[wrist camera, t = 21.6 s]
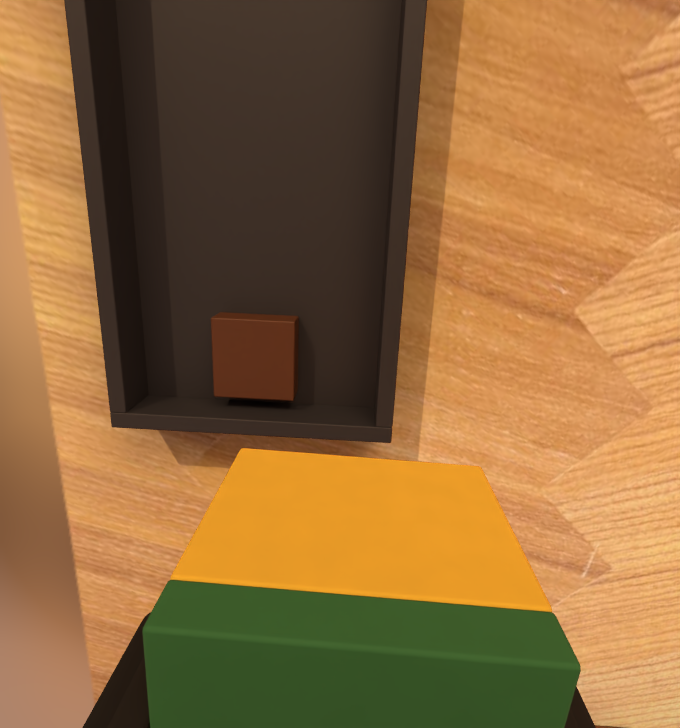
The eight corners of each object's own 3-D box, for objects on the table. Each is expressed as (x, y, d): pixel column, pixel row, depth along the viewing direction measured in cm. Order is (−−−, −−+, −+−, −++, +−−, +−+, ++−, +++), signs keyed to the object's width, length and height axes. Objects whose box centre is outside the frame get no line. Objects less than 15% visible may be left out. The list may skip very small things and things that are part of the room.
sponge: (240, 446, 9) (139, 628, 5) (481, 465, 9) (584, 666, 5) (240, 696, 11) (168, 976, 7) (438, 714, 11) (486, 1011, 7)
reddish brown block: (219, 311, 23) (210, 317, 21) (298, 315, 23) (294, 321, 21) (222, 386, 24) (213, 397, 23) (297, 391, 24) (293, 401, 22)
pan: (85, -207, 18) (30, -294, 15) (435, -201, 17) (450, -290, 14) (140, 404, 25) (111, 427, 22) (387, 417, 25) (390, 443, 22)
